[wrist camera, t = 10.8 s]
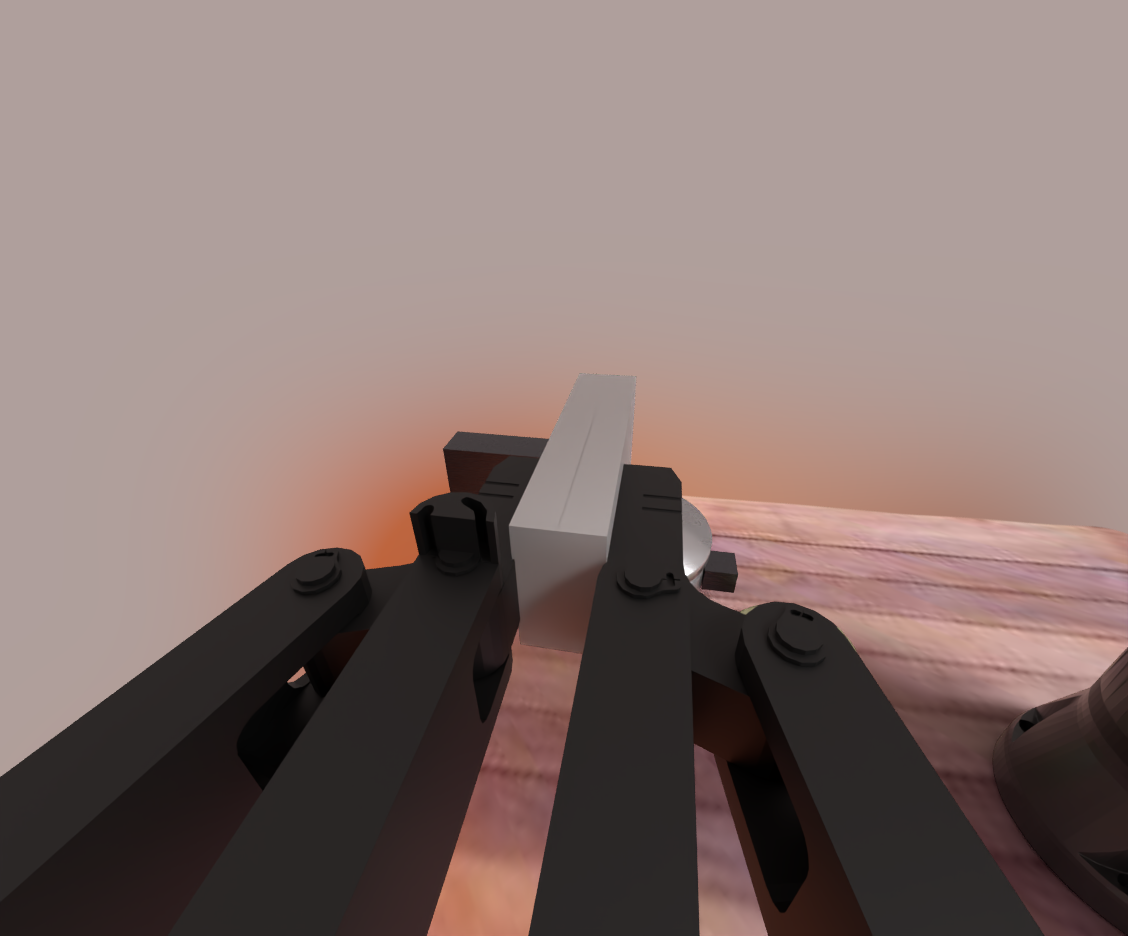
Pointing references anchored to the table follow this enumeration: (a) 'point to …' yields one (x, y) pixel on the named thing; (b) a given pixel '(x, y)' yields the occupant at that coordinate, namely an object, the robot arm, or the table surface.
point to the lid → (482, 452)
